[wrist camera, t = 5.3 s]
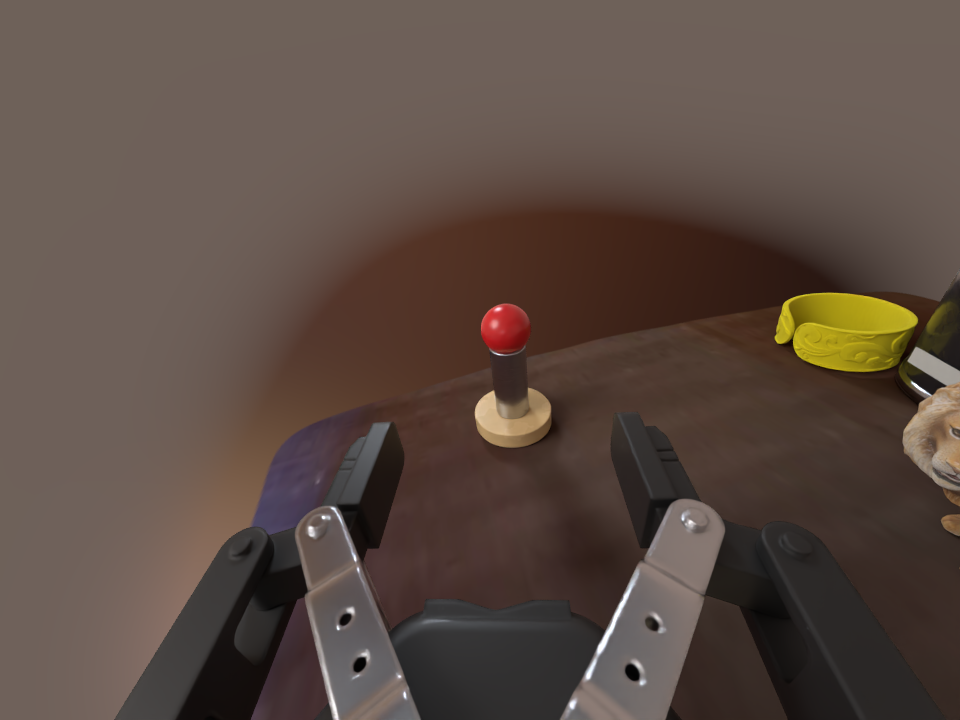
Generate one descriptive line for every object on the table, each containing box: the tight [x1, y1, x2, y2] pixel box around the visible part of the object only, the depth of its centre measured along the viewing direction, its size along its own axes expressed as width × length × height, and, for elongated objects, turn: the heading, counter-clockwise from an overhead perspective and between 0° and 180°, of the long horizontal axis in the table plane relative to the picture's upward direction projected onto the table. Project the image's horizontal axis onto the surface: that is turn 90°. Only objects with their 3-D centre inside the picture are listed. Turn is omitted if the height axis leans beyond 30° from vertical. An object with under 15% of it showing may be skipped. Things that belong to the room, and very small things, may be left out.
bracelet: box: [775, 293, 918, 372], centre depth 30 cm, size 7×8×3 cm
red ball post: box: [475, 304, 551, 448], centre depth 25 cm, size 6×6×9 cm
